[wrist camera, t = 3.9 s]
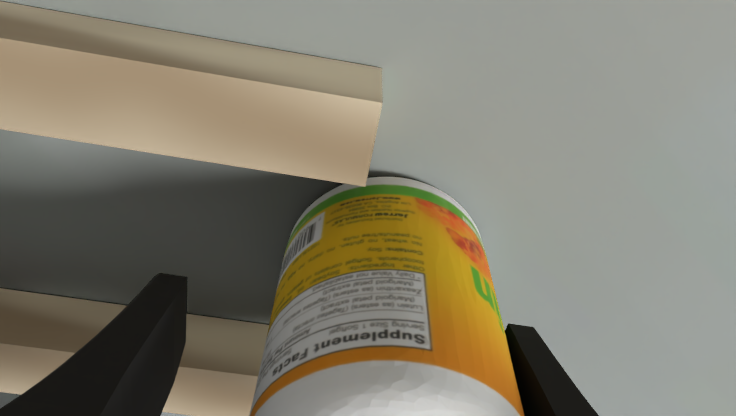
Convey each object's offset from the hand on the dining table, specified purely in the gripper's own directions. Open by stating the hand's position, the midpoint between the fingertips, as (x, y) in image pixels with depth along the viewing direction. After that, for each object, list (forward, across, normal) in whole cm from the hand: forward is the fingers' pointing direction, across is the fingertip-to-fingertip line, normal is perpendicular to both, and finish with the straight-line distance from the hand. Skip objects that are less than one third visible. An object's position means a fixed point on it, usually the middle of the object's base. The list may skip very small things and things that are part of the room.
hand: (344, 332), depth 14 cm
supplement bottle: (+3, -1, 0) cm, 4 cm away
